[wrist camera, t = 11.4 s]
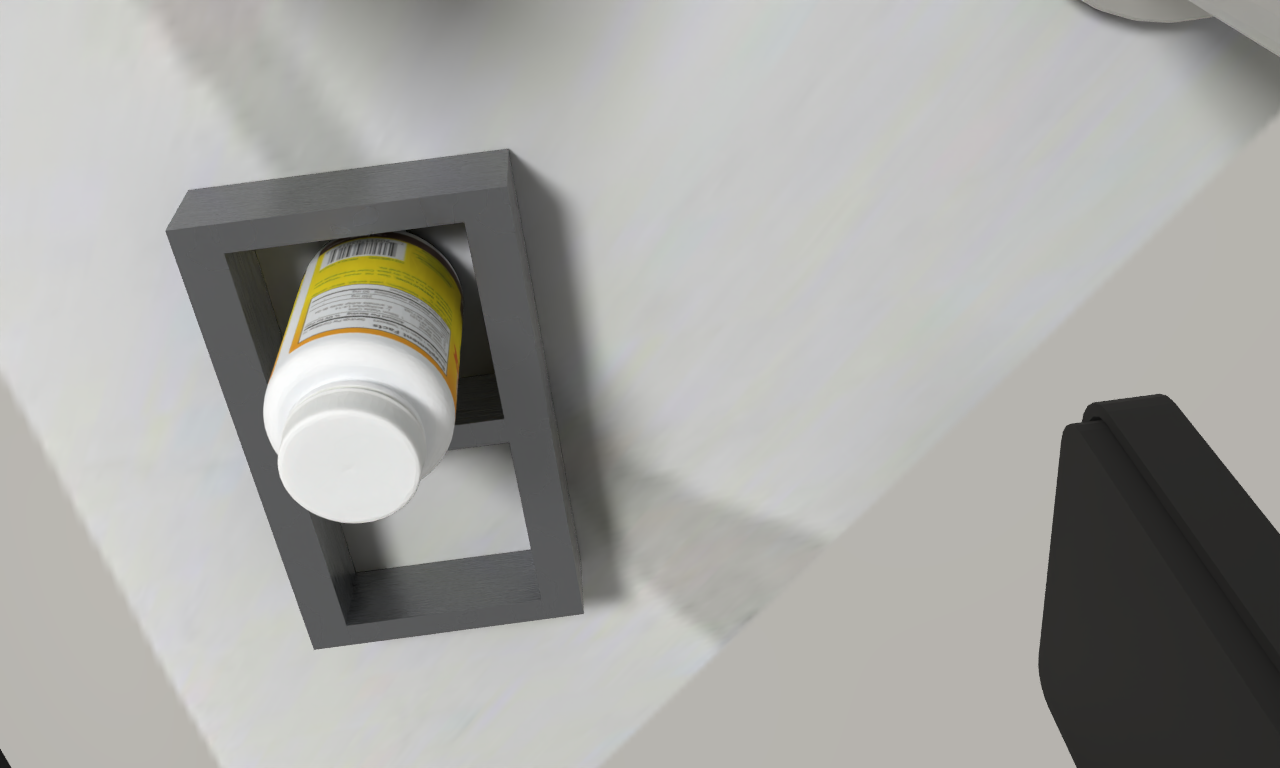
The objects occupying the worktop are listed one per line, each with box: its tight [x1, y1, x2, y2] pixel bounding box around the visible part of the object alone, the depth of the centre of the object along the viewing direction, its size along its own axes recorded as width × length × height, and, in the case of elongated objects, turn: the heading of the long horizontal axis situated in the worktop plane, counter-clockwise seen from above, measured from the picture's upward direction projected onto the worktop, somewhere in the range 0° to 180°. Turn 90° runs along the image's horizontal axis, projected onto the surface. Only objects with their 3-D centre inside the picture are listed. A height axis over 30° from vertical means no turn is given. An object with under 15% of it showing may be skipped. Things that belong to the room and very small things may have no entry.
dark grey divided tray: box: [166, 149, 584, 650], centre depth 43 cm, size 18×10×3 cm, turn 6°
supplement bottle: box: [263, 230, 464, 523], centre depth 38 cm, size 6×6×10 cm
